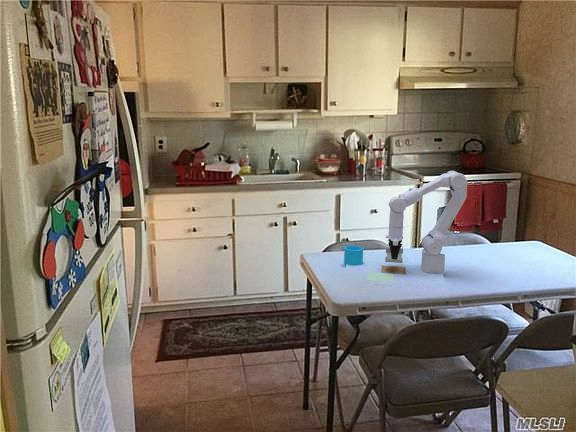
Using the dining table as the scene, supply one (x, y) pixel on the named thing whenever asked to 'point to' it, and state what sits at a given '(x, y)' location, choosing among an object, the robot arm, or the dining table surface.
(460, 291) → the dining table surface
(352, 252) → the mug
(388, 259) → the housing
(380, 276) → the stand
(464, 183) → the robot arm
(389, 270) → the stand
